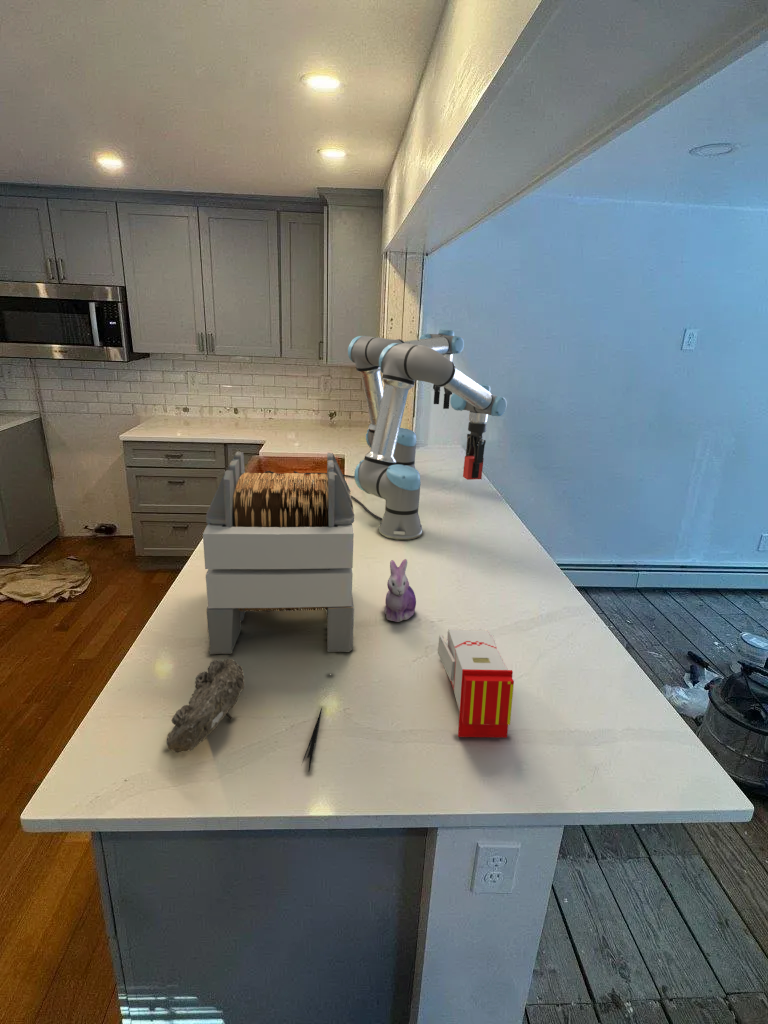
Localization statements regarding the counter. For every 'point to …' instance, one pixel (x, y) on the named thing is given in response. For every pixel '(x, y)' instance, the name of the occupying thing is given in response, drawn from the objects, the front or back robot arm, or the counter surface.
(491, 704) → the toy
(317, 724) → the feather
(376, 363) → the back robot arm
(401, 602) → the figurine
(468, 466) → the block
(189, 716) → the fossil
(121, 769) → the counter surface
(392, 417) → the front robot arm
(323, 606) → the record crate
